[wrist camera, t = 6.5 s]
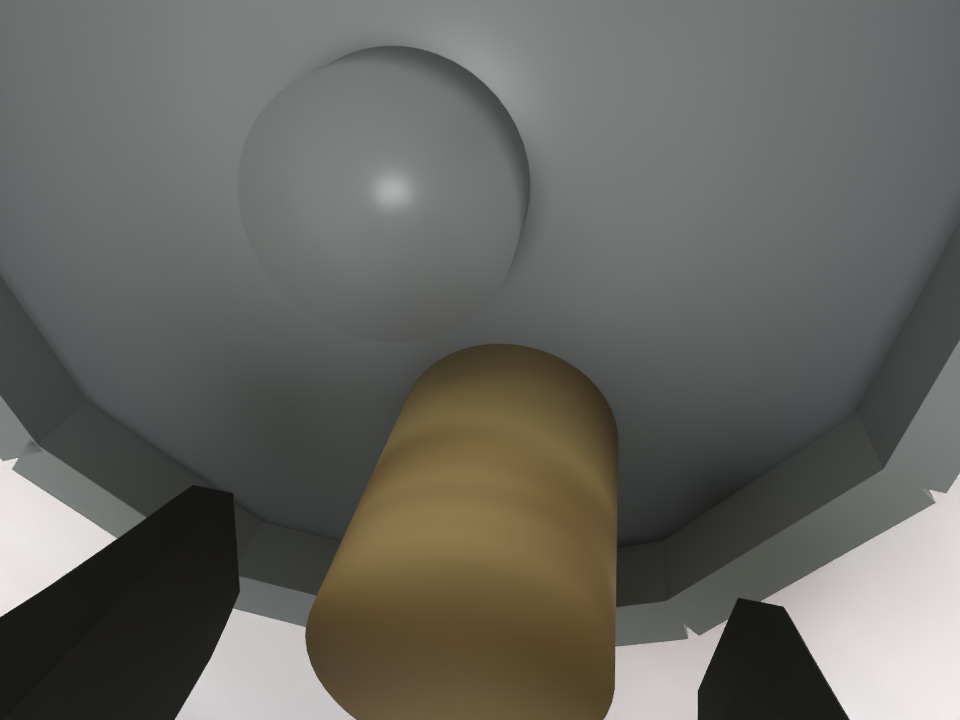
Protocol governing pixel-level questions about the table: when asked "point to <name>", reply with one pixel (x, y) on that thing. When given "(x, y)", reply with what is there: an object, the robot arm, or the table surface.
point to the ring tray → (487, 262)
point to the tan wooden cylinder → (480, 551)
